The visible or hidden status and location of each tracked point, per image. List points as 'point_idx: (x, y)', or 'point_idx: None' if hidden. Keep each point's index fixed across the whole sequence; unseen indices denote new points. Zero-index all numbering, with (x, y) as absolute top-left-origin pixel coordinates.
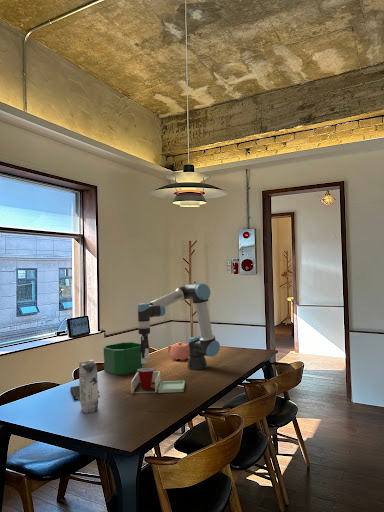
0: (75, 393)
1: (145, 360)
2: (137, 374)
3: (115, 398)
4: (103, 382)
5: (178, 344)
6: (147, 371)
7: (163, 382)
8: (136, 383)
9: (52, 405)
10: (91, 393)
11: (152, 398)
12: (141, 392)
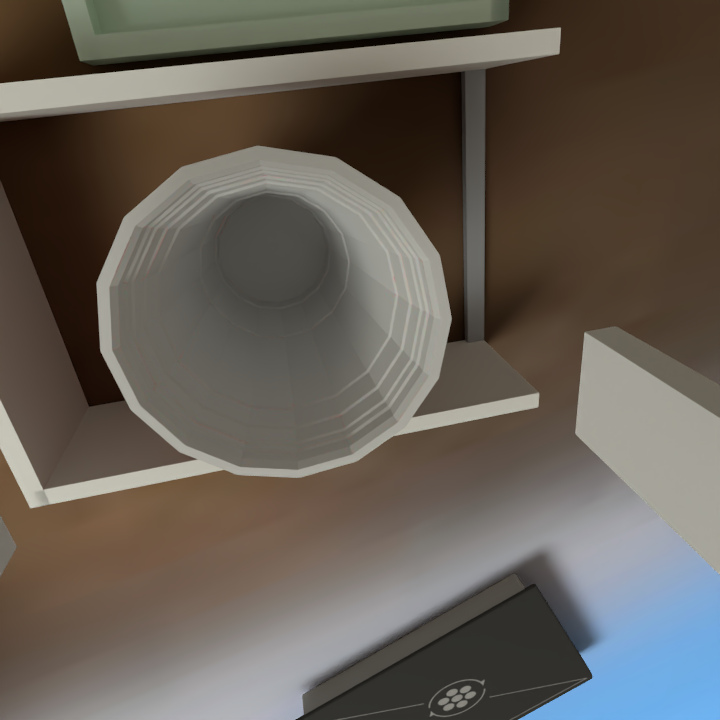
0: (532, 702)
1: (673, 360)
2: (114, 467)
3: None
4: (137, 701)
5: None
6: (433, 255)
7: (89, 9)
8: None
9: (636, 699)
10: None
11: (677, 57)
12: (483, 248)
